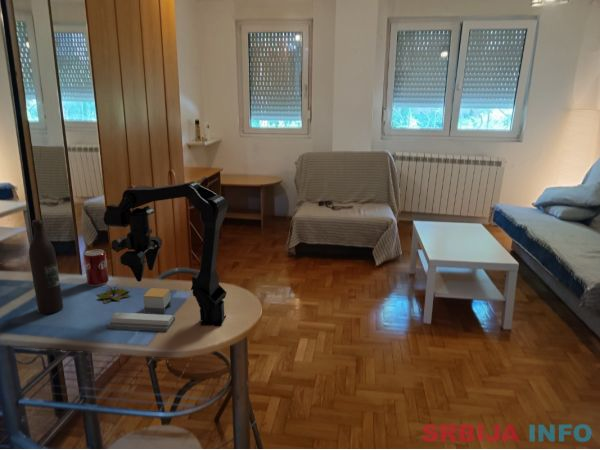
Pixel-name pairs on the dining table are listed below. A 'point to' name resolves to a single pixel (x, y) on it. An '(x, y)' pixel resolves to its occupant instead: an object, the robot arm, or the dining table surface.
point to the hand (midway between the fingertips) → (145, 275)
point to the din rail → (140, 326)
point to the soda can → (96, 267)
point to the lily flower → (113, 292)
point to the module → (157, 300)
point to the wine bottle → (44, 271)
